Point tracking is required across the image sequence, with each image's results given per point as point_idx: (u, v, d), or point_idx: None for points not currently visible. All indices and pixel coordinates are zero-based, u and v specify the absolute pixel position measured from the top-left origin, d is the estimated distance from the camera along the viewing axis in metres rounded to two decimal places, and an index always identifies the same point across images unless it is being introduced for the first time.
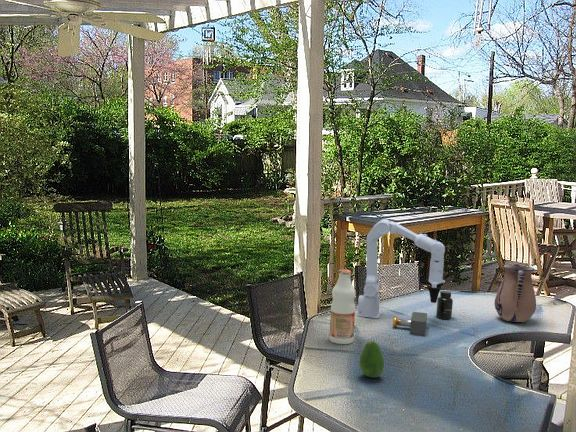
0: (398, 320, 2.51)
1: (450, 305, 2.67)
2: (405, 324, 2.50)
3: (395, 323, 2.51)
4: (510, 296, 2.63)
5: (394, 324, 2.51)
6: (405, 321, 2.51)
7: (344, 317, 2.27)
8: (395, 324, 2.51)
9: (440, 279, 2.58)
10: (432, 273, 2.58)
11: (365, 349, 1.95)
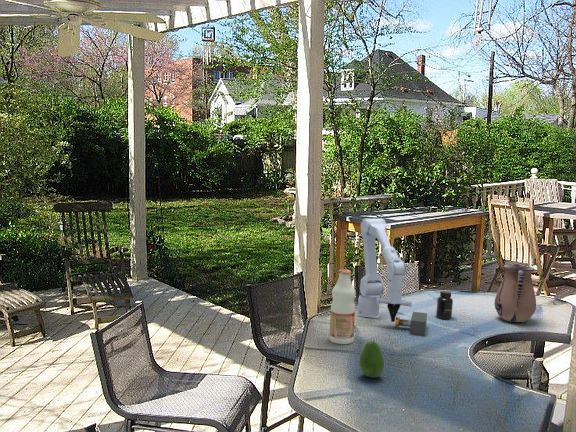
0: (400, 320, 2.51)
1: (450, 305, 2.67)
2: (407, 324, 2.50)
3: (397, 323, 2.51)
4: (510, 296, 2.63)
5: (396, 324, 2.51)
6: (407, 321, 2.50)
7: (344, 317, 2.27)
8: (397, 324, 2.51)
9: (389, 298, 2.50)
10: None
11: (365, 349, 1.95)
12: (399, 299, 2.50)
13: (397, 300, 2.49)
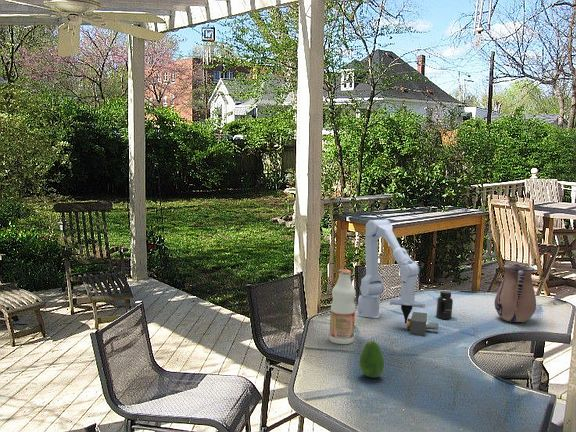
0: None
1: (450, 305, 2.67)
2: None
3: (409, 325, 2.49)
4: (510, 296, 2.63)
5: (408, 326, 2.50)
6: None
7: (344, 317, 2.27)
8: (409, 326, 2.49)
9: (402, 300, 2.49)
10: None
11: (365, 349, 1.95)
12: (412, 300, 2.48)
13: (410, 301, 2.48)
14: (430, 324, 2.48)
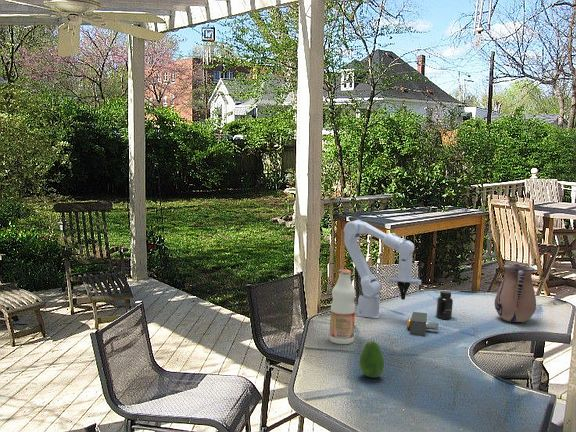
0: None
1: (450, 305, 2.67)
2: None
3: (409, 325, 2.49)
4: (510, 296, 2.63)
5: (408, 326, 2.50)
6: None
7: (344, 317, 2.27)
8: (409, 326, 2.49)
9: (399, 277, 2.59)
10: None
11: (365, 349, 1.95)
12: (409, 277, 2.58)
13: (407, 278, 2.58)
14: (430, 324, 2.48)
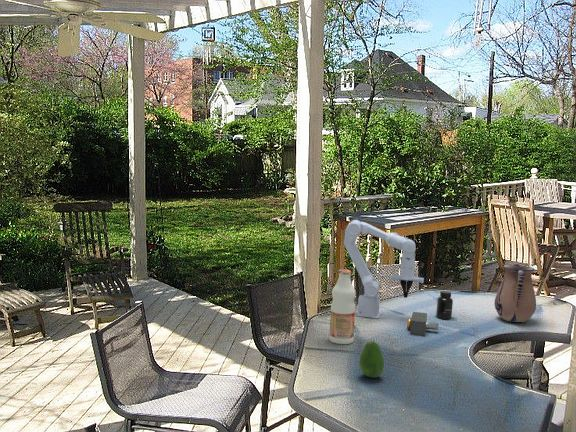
0: None
1: (450, 305, 2.67)
2: None
3: (409, 325, 2.49)
4: (510, 296, 2.63)
5: (408, 326, 2.50)
6: None
7: (344, 317, 2.27)
8: (409, 326, 2.49)
9: (402, 275, 2.63)
10: None
11: (365, 349, 1.95)
12: (412, 276, 2.62)
13: (410, 277, 2.62)
14: (430, 324, 2.48)
